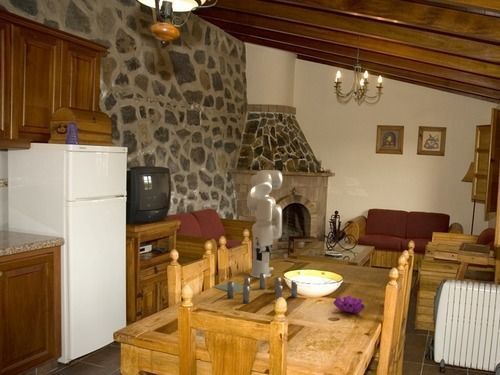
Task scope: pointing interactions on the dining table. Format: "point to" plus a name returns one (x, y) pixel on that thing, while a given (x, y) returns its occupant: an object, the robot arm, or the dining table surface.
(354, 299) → the purple knobbly lump
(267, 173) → the robot arm
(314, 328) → the dining table surface
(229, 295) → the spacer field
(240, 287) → the rubber mat
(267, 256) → the hex nut
